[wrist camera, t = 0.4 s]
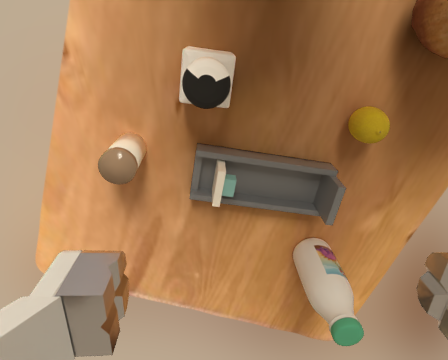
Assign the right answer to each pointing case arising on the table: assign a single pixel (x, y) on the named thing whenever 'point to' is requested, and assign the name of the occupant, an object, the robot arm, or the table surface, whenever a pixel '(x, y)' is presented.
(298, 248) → the milk bottle
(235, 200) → the lane
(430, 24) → the butternut squash
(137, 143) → the jar
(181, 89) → the medicine bottle
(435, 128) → the table surface
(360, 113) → the lemon
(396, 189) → the table surface
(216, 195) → the pusher
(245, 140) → the table surface
